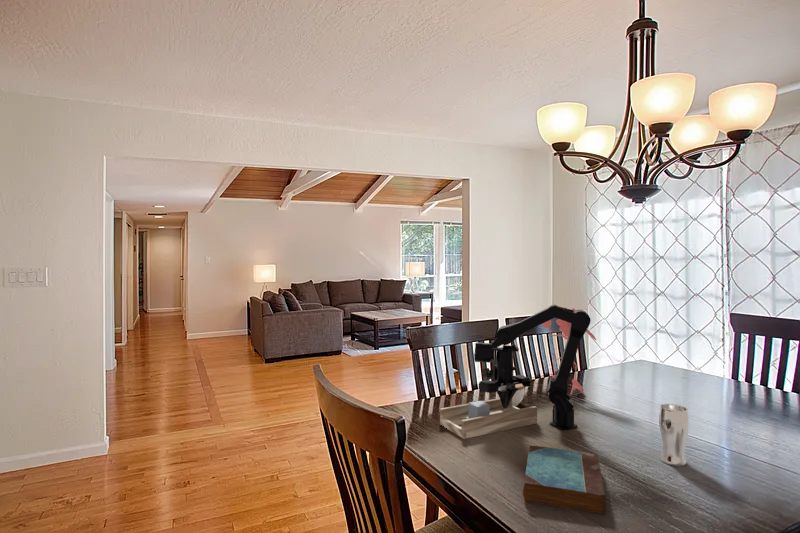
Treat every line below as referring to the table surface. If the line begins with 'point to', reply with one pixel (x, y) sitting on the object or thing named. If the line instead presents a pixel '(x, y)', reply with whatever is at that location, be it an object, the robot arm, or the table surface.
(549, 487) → the book
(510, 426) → the tray
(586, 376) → the table surface
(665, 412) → the beer glass
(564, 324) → the pink branch
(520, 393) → the lidded jar
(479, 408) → the block
